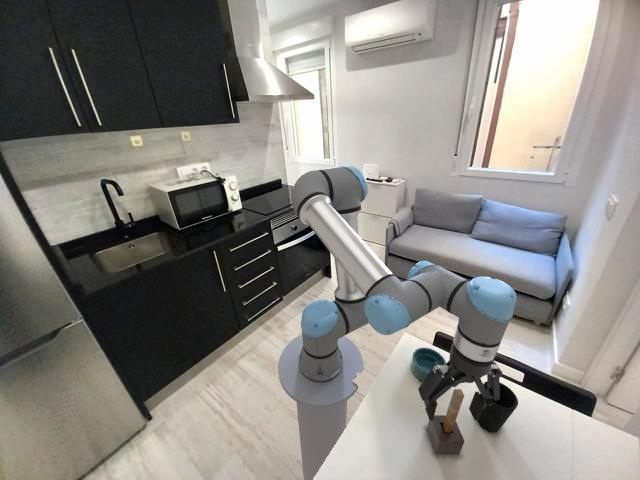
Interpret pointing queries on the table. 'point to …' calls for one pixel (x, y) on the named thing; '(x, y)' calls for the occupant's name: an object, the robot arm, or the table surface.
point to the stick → (453, 410)
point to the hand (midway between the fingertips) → (451, 414)
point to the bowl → (425, 361)
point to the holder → (444, 437)
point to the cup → (498, 410)
